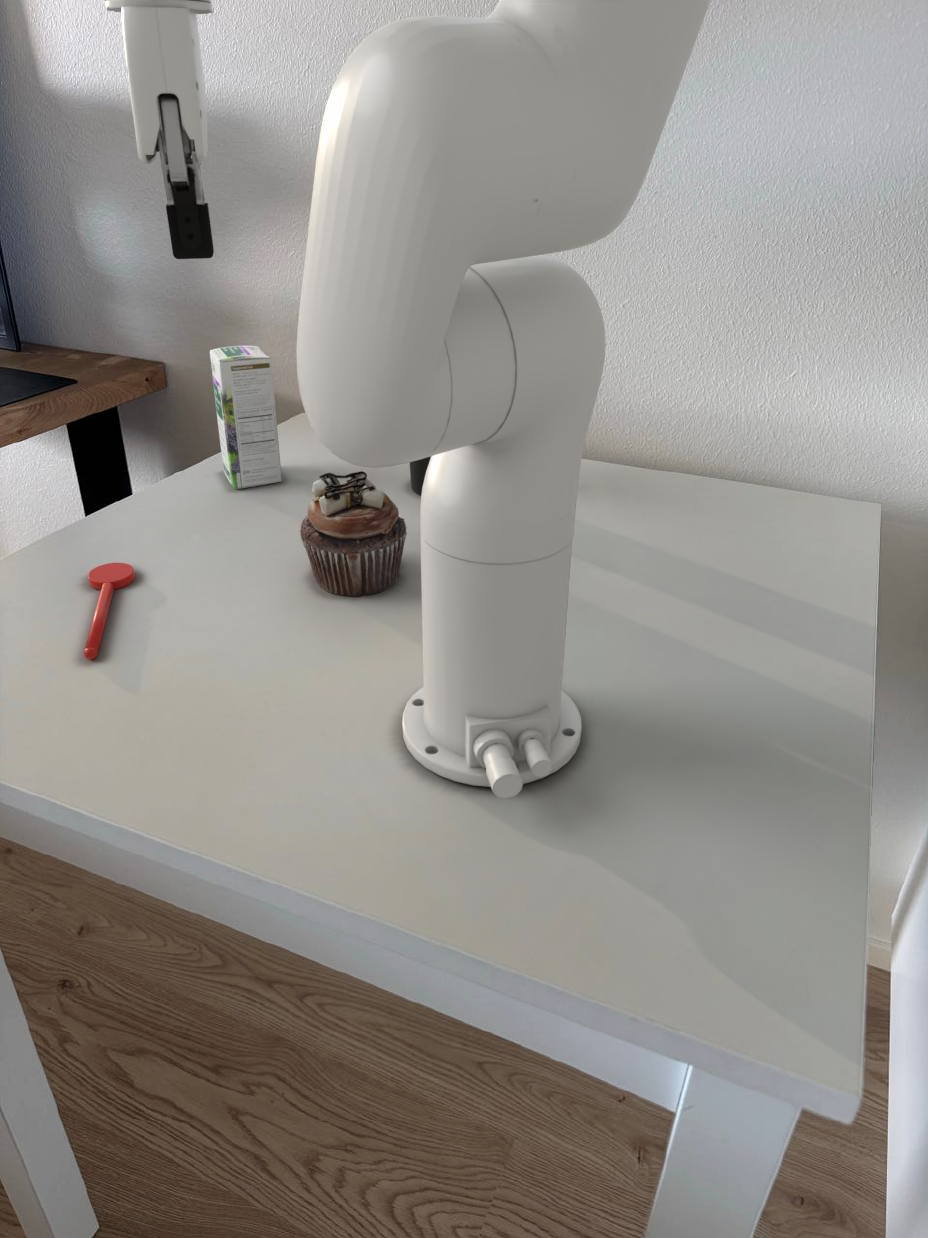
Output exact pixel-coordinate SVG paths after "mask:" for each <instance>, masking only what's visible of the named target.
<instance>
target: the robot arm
mask: <svg viewBox="0 0 928 1238" xmlns="http://www.w3.org/2000/svg"><path fill="white" fill-rule="evenodd" d="M212 2H213V1H212V0H104V3H105V10H106V11H108V12H115V13H120V15H121V29H122V40H123V50H124V51H123V52H124V58H125V60H124V61H125V66H126V67H125V68H126V74H127V82H128V89H129V96H130V103H131V111H132V117H133V124H134V125H133V126H134V134H135V141H136V149H137V157H138V159H139V160H140V161H141V162H142V163H143V164H145V165H150V164H152V163H153V161H155V159H157V154H158V153H159V159H160V164H161V166H160V167H161V171H162V178H163V183H164V189H165V195H166V196H165V197H166V202H167V204H166V205H165V209H166V217H167V224H168V231H169V237H170V244H171V251H172V255H173V257H174V259H176V260H191V259H192V260H194V259H195V260H197V259H199V260H202V259H212V257H213V256H214V252H215V248H214V242H213V241H214V240H213V232H212V225H211V217H210V209H209V203H208V202H206V200H205V199H206V198H205V191H204V183H203V173H202V162H203V161H204V160H205V159H206V158H207V156H208V152H209V150H208V149H209V147H208V146H209V145H208V144H209V143H208V141H209V140H208V139H209V137H208V134H209V133H208V112H207V100H206V99H207V98H206V97H207V96H206V87H205V79H204V78H205V77H204V68H203V57H202V50H201V41H200V33H199V32H200V31H199V26H198V25H199V24H198V15H207V14H213V13H214V9H213V3H212ZM710 2H711V0H498V2H497V4H496V6H495V7H494V10H493V11H492V12H491V13H490V14H488V16H486V17H476V16H475V17H473V16H470V17H469V16H457V15H455V16H454V15H418V16H412V17H406V18H401V19H397V20H394V21H390V22H389V23H387V24H385V25H383V26H381V27H379V28H377V29H375V30H374V31H373V32H371V33H370V34H368V35H367V36H366V37H365V38H364V39H362V41H361V42H360V43H358V45H357V46H356V47H355V48H354V50H353V51H352V52H351V54H349V56H348V57H347V59H346V61H345V62H344V63H343V66H342V67H341V69H340V71H339V73H338V75H337V77H336V78H335V81H334V83H333V85H332V88H331V90H330V92H329V96H328V99H327V102H326V104H325V108H324V112H323V117H322V121H321V126H320V132H319V138H318V139H319V140H318V145H317V152H316V159H315V167H314V168H315V169H314V175H313V176H314V177H313V186H312V195H311V202H310V213H309V221H308V230H307V239H306V247H305V256H304V263H303V264H304V265H303V273H302V283H301V291H300V300H299V309H298V310H299V311H298V320H297V330H296V350H295V351H296V375H297V383H298V388H299V390H298V391H299V396H300V399H301V404H302V407H303V410H304V413H305V417H306V418H307V421H308V423H309V425H310V427H311V429H312V431H313V432H314V435H316V438H317V439H318V440H319V441H320V442H321V444H323V446H324V447H325V448H326V449H327V450H328V451H329V452H330V453H332V454H333V455H334V456H335V457H337V458H339V459H341V460H342V461H344V462H347V463H348V464H352V465H355V466H359V467H364V468H374V469H375V468H376V469H377V468H378V469H379V468H389V467H394V466H400V465H404V464H408V463H409V464H410V462H412V461H417V460H420V459H424V458H427V457H430V456H431V459H430V462H429V465H428V468H427V471H426V474H425V479H424V483H423V488H422V494H421V495H420V503H419V504H420V506H419V507H420V508H419V509H420V510H419V524H420V525H419V526H420V527H419V535H420V536H419V539H420V541H419V542H420V575H421V576H420V581H421V582H420V584H421V585H420V587H421V625H422V626H421V629H422V630H421V631H422V672H423V673H422V675H423V686H422V687H421V688H419V689H418V690H417V691H416V692H415V693H413V695H412V696H411V697H410V699H409V700H408V701H407V702H406V705H405V708H404V710H403V712H402V722H401V726H402V735H403V736H402V738H403V742H404V743H405V746H406V748H407V750H408V751H409V752H410V754H411V755H412V756H413V758H414V759H415V760H416V761H417V762H419V764H421V765H422V766H423V767H424V768H425V769H427V770H429V771H430V772H432V773H434V774H436V775H438V776H440V777H443V778H445V779H447V780H450V781H453V782H456V783H460V784H465V785H469V786H475V787H489V788H491V791H492V793H493V795H494V796H495V797H496V798H499V799H500V800H501V799H502V800H506V799H507V800H508V799H509V800H510V799H512V798H513V797H516V796H517V795H519V794H520V792H522V789H523V787H524V785H525V784H528V783H531V782H534V781H538V780H541V779H544V778H545V777H547V776H549V775H552V774H553V773H556V772H558V770H560V769H562V768H563V767H564V766H565V765H566V764H568V763H569V762H570V760H571V759H572V758H573V757H574V755H575V754H576V752H577V750H578V748H579V746H580V743H581V737H582V730H583V729H582V725H583V724H582V717H581V713H580V711H579V708H578V706H577V705H576V704H575V702H574V700H573V699H572V698H571V697H570V696H569V695H568V694H567V693H566V692H565V691H563V675H564V661H565V650H566V649H565V648H566V635H567V622H568V621H567V620H568V609H569V608H568V607H569V593H570V580H571V565H572V555H573V554H572V553H573V552H572V551H573V539H574V536H575V525H576V524H575V523H576V509H577V500H578V491H579V490H578V489H579V481H580V473H581V464H582V458H583V453H584V448H585V443H586V438H587V435H588V430H589V428H590V427H589V426H590V423H591V419H592V415H593V413H594V409H595V405H596V402H597V398H598V395H599V390H600V386H601V382H602V378H603V373H604V366H605V360H606V343H607V342H606V341H607V340H606V328H605V321H604V316H603V312H602V309H601V306H600V304H599V301H598V299H597V296H596V295H595V293H594V290H592V288H591V287H590V285H589V283H588V282H587V281H586V280H585V278H583V276H582V275H580V274H579V272H578V271H576V270H575V269H574V268H573V267H571V266H569V265H568V264H566V263H564V262H562V261H561V260H559V259H556V258H554V257H551V256H549V255H550V254H554V253H560V252H561V253H562V252H566V251H570V250H575V249H579V248H583V247H586V246H588V245H592V244H595V243H597V242H598V241H600V240H602V239H605V238H606V237H608V236H609V235H610V234H612V233H613V232H614V231H616V229H618V227H619V226H620V225H621V224H622V223H623V222H624V221H625V219H626V217H627V215H628V214H629V212H630V210H631V209H632V207H633V205H634V203H636V200H637V198H638V196H639V193H640V191H641V188H642V187H643V184H644V181H645V179H646V177H647V174H648V171H649V169H650V166H651V163H652V161H653V158H654V155H655V152H656V150H657V147H658V145H659V142H660V139H661V135H662V134H663V132H664V128H665V126H666V122H667V120H668V117H669V115H670V112H671V109H672V108H673V107H672V106H673V104H674V101H675V99H676V96H677V93H678V90H679V88H680V86H681V82H682V80H683V77H684V74H685V71H686V68H687V66H688V63H689V60H690V58H691V55H692V53H693V50H694V47H695V44H696V42H697V40H698V36H699V33H700V30H701V28H702V25H703V22H704V19H705V17H706V14H707V11H708V8H709V5H710ZM548 254H549V255H548Z"/></svg>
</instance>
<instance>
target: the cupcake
mask: <svg viewBox="0 0 928 1238" xmlns="http://www.w3.org/2000/svg"><path fill="white" fill-rule="evenodd" d="M367 477H368V474H367V473H366V472H365V471H363V470H361V471H354V472H350V473H348V474H346V475H339V474H335V473H332V472H326V473H325V472H324V473H323V474H321V475H320V476H318V478H319V479H317V480H315V481H313V483H312V488H311V491H312V492H311V493H312V495H313V496H314V498H313V499H311V500H310V502H309V504H308V508H307V515H306V516H305V517H304V518H303V519H302V522H301V524H300V530H299V533H300V534H299V536H300V540H301V542H302V545H303V547H304V549H305V551H306V554H307V557H308V560H309V563H310V568H311V571H312V576H313V578H314V580H315V582H316V583H317V584H318V586H319V587H320V588H321V589H322V590H324V591H326V592H327V593H330V594H332V595H336V596H343V597H346V596H347V597H352V598H353V597H361V596H369V595H375V594H379V593H382V592H384V591H385V590H388V589H389V588H392V587H393V586H394V584H395V583H397V581H398V579H399V576H400V571H401V566H402V560H403V559H402V558H403V553H404V548H405V543H406V539H407V535H408V532H407V523H406V521H405V518H403V517H401V516H399V515H400V513H399V508H398V506H397V505H396V503H395V502H393V501H392V500H391V498H390V497H389V495H387V494H386V492H384V490H382V489H378V488H377V487H376V485H375V483H374V482H372V481H371V480H369V479H368V478H367ZM349 478H350V479H349ZM339 479H346V482H345V483H341V482H340V480H339Z"/></svg>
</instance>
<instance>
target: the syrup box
mask: <svg viewBox="0 0 928 1238" xmlns="http://www.w3.org/2000/svg"><path fill="white" fill-rule="evenodd" d="M209 359H210V364H211V373H212V374H211V375H212V384H213V393H214V400H215V402H214V403H215V410H216V417H217V418H216V419H217V420H216V421H217V427H218V436H219V444H220V453H221V460H222V468H223V473H224V475H225V477H226V479H227V480H228V482H229V484H230V485H231V486H232V488H233V489H234V490H238V489H245V488H246V489H247V488H251V487H257V486H265V485H269V484H274V483H281V482H282V481H283V479H282V478H283V477H282V465H281V454H280V443H279V432H278V422H277V409H276V398H275V397H276V396H275V387H274V377H273V367H272V358H271V356H270V355H268V354H267V353H266V352H265V350H263V349H262V348H261V347H260V346H258V345H232V346H231V345H230V346H223V347H218V348H213V349H210V350H209Z"/></svg>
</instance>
